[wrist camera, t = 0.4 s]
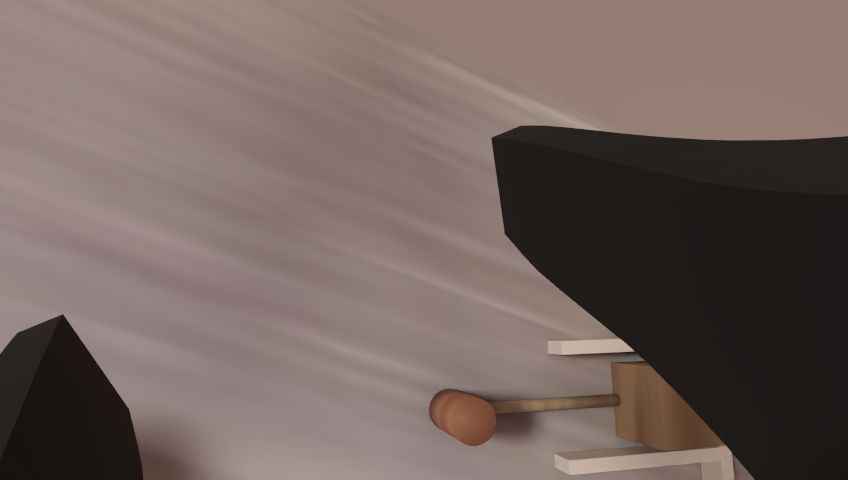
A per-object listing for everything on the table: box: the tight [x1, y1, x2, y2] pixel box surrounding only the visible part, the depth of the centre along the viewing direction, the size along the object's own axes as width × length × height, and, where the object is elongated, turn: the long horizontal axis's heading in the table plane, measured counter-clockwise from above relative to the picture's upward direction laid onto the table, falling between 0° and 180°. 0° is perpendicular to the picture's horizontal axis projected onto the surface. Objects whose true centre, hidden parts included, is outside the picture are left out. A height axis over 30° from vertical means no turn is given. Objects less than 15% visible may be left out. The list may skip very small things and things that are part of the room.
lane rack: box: [547, 338, 734, 480], centre depth 38 cm, size 11×21×2 cm, turn 2°
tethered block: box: [429, 361, 726, 451], centre depth 35 cm, size 16×4×5 cm, turn 92°
